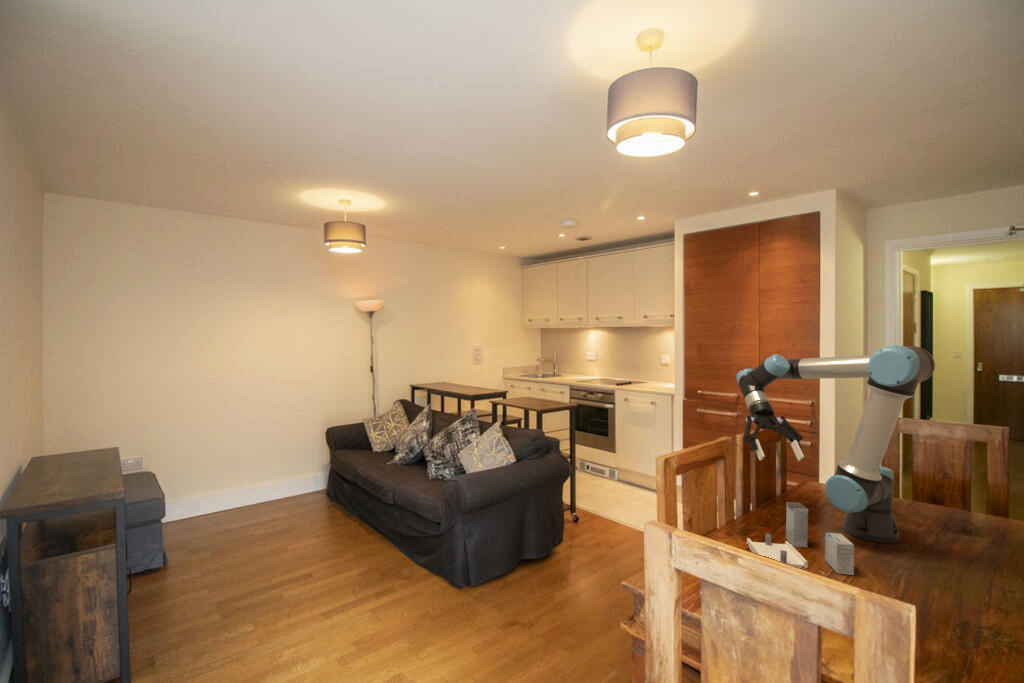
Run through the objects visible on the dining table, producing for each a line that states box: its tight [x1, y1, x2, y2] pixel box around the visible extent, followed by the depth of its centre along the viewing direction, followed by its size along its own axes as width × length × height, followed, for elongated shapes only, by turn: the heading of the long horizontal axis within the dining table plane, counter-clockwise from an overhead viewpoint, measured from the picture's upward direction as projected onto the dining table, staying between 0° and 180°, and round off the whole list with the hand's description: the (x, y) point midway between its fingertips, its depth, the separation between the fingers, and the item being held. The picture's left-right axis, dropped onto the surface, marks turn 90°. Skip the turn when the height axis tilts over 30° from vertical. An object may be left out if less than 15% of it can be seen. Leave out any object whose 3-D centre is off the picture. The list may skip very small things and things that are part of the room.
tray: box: [746, 533, 809, 570], centre depth 146 cm, size 12×14×4 cm
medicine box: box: [824, 532, 855, 576], centre depth 139 cm, size 8×4×9 cm, turn 168°
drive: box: [785, 501, 809, 549], centre depth 156 cm, size 4×6×12 cm
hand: (781, 458), depth 165 cm, fingers open, 13 cm apart
